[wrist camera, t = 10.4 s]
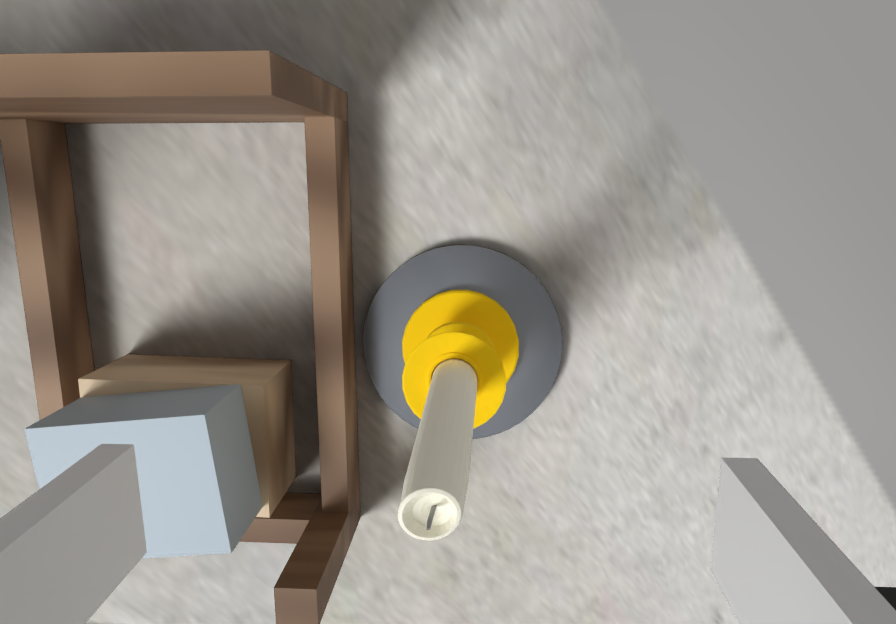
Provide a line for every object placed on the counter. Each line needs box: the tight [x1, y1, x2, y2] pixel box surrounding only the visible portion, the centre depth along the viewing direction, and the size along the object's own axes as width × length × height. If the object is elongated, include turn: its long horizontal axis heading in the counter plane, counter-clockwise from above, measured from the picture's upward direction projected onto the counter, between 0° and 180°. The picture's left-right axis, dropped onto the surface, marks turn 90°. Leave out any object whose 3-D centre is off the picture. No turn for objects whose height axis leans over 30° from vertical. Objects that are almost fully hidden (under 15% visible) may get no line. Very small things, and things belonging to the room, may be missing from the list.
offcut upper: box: [24, 384, 263, 559], centre depth 26 cm, size 6×7×4 cm
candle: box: [398, 290, 519, 541], centre depth 22 cm, size 5×5×16 cm
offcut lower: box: [78, 354, 296, 518], centre depth 30 cm, size 6×8×4 cm
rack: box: [0, 50, 360, 624], centre depth 26 cm, size 20×14×10 cm
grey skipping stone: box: [363, 245, 562, 439], centre depth 30 cm, size 9×9×1 cm
